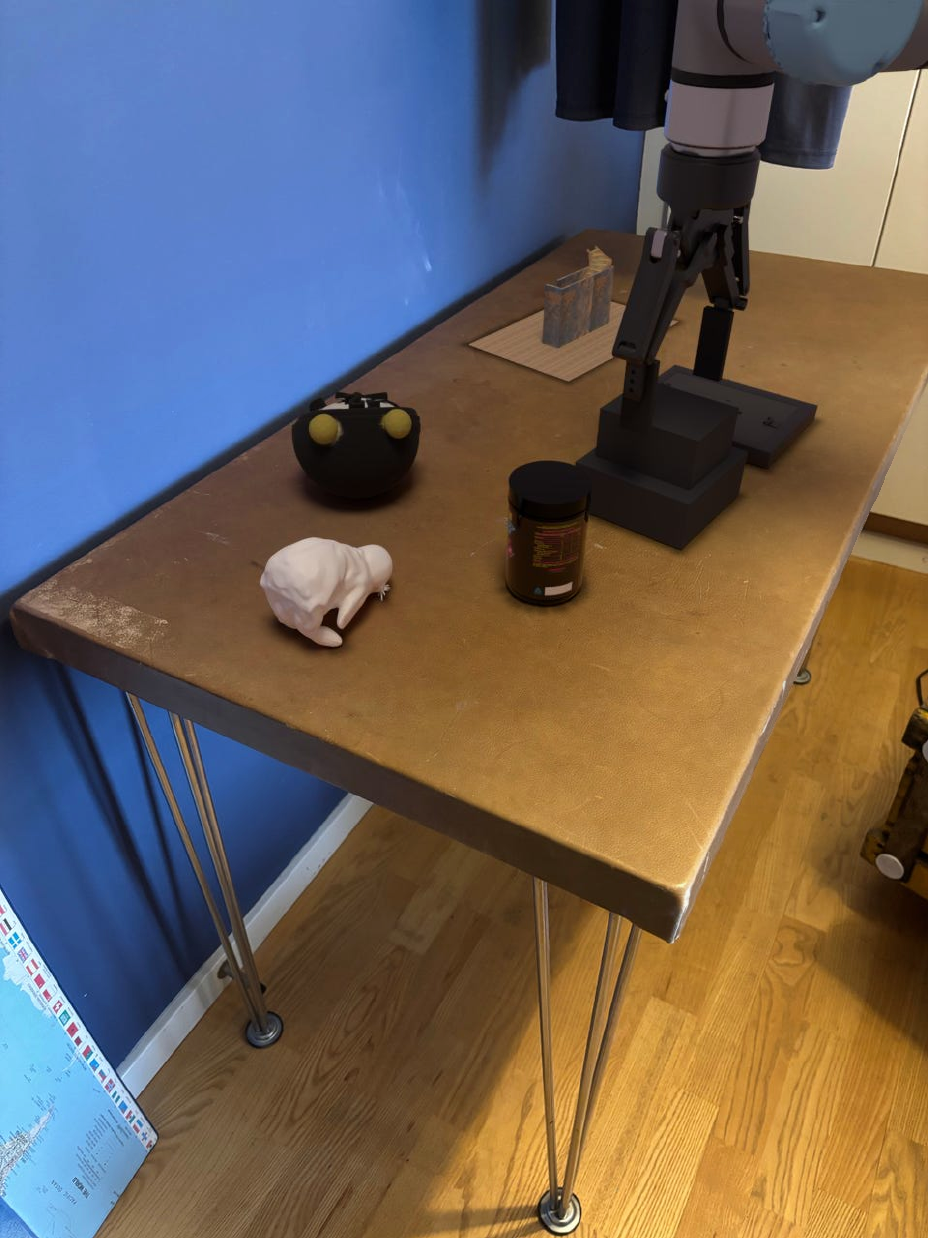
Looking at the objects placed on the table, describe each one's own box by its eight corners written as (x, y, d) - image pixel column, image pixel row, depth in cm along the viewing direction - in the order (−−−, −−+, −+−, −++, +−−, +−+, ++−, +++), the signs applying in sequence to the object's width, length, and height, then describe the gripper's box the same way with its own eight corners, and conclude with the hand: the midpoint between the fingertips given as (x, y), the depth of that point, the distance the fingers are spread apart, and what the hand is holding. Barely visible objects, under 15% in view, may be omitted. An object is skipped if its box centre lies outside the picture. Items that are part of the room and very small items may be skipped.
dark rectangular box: (738, 495, 91) (748, 451, 87) (680, 550, 83) (689, 504, 80) (633, 457, 96) (639, 414, 93) (571, 506, 89) (575, 461, 86)
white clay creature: (248, 545, 69) (358, 491, 77) (256, 635, 74) (359, 576, 82) (306, 576, 66) (414, 517, 74) (311, 668, 71) (412, 604, 79)
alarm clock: (424, 490, 98) (473, 390, 87) (337, 560, 89) (378, 459, 78) (344, 422, 100) (381, 315, 88) (250, 484, 91) (277, 373, 79)
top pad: (729, 455, 87) (739, 407, 84) (689, 490, 82) (698, 441, 79) (637, 424, 92) (643, 378, 88) (595, 455, 87) (600, 408, 84)
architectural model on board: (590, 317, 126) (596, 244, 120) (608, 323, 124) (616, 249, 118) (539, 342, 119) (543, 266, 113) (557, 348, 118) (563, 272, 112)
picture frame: (617, 420, 103) (766, 469, 95) (619, 401, 101) (771, 449, 93) (672, 379, 111) (814, 420, 103) (675, 361, 110) (819, 402, 101)
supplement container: (557, 554, 83) (565, 453, 76) (596, 595, 78) (609, 492, 72) (491, 573, 81) (493, 471, 74) (527, 617, 76) (533, 512, 69)
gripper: (738, 112, 79) (699, 348, 92) (581, 169, 64) (561, 441, 77) (822, 123, 75) (769, 367, 89) (677, 186, 60) (639, 469, 73)
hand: (672, 402), depth 83 cm, fingers open, 13 cm apart
